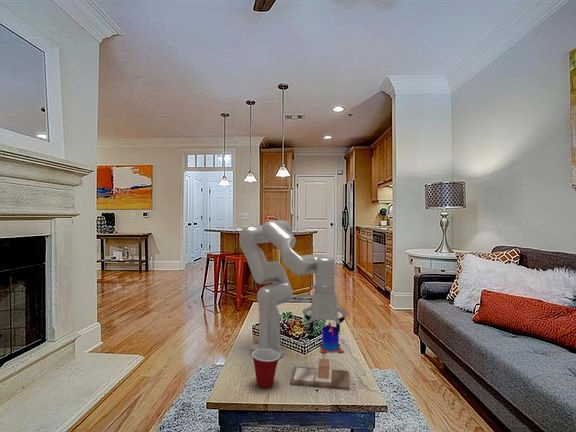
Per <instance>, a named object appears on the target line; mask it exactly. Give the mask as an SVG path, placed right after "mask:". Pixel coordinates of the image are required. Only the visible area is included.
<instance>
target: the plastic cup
mask: <svg viewBox="0 0 576 432" xmlns="http://www.w3.org/2000/svg"><path fill="white" fill-rule="evenodd" d="M251 352H252V353H251V356H252V360H253V365H254V366H253V367H254V372H255V378H256V384H257V387H258V388H259V389H262V390H263V389H264V390H265V389H266V390H267V389H270V388H272V387H273V385H274V381H275V376H276V370H277V365H278V362H279V358H280V354H279V352H277V351H275V350H271V349H257V350H252V351H251ZM280 359H281V358H280Z"/></svg>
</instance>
